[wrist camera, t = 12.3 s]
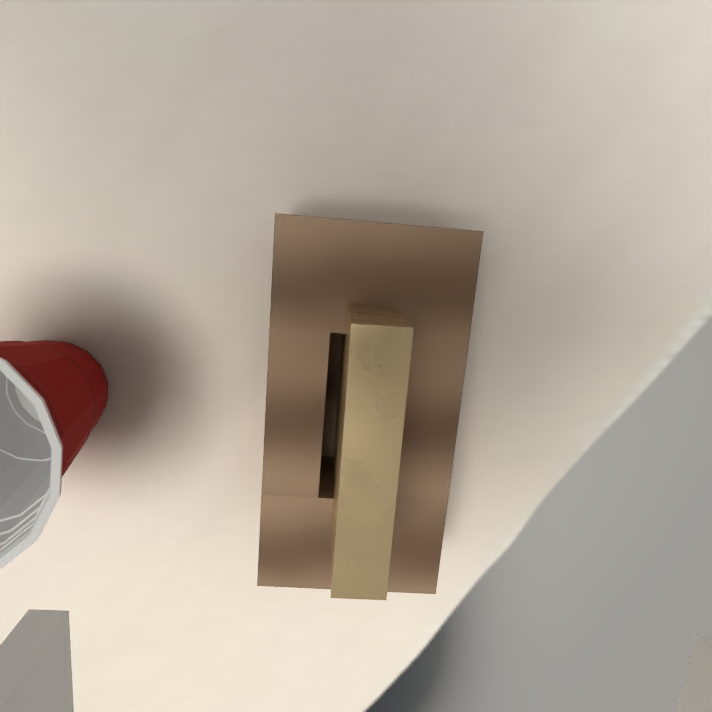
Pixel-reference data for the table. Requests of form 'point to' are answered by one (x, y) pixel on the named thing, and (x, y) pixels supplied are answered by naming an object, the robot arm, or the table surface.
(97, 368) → the plastic cup
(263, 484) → the slotted block
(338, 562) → the light wooden block
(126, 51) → the table surface
